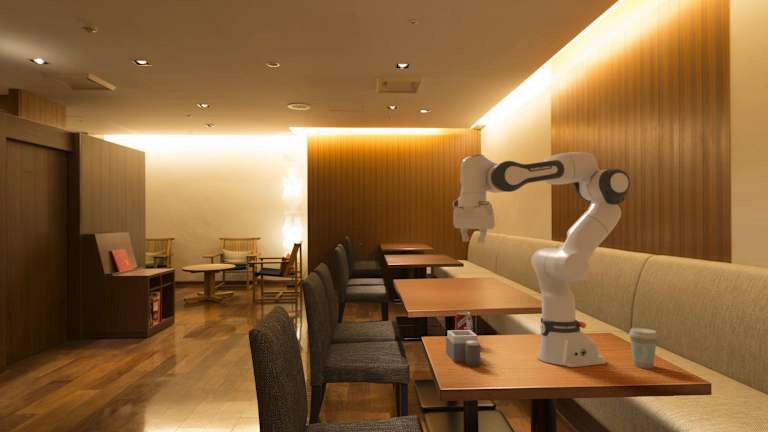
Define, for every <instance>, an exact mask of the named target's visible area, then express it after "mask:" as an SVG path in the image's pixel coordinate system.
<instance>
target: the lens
mask: <svg viewBox="0 0 768 432" xmlns="http://www.w3.org/2000/svg"><path fill="white" fill-rule="evenodd" d="M464 363H465V366H466V367H469V368H480V367H481V344H480V341H478V340H477V341H474V340H469V341H466V344H465V362H464ZM479 366H480V367H479Z"/></svg>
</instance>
